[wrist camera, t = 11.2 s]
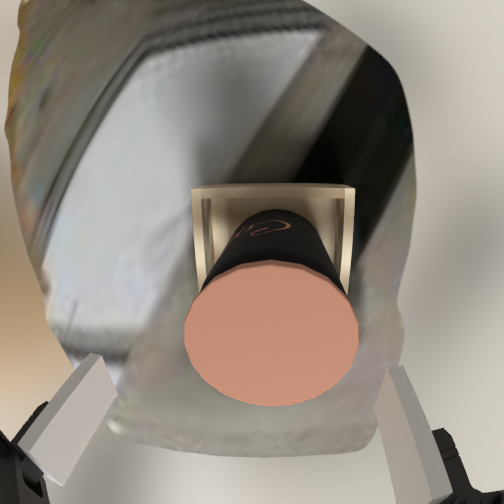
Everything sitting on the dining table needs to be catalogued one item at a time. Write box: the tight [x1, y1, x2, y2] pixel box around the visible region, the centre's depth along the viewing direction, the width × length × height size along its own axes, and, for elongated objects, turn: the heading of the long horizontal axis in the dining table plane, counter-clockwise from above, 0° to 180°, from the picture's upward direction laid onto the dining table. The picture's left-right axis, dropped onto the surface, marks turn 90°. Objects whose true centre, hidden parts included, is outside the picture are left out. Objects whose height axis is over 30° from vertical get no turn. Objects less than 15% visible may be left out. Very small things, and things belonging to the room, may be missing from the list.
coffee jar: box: [184, 209, 359, 406], centre depth 25 cm, size 11×11×18 cm
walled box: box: [191, 183, 355, 294], centre depth 32 cm, size 20×16×5 cm
